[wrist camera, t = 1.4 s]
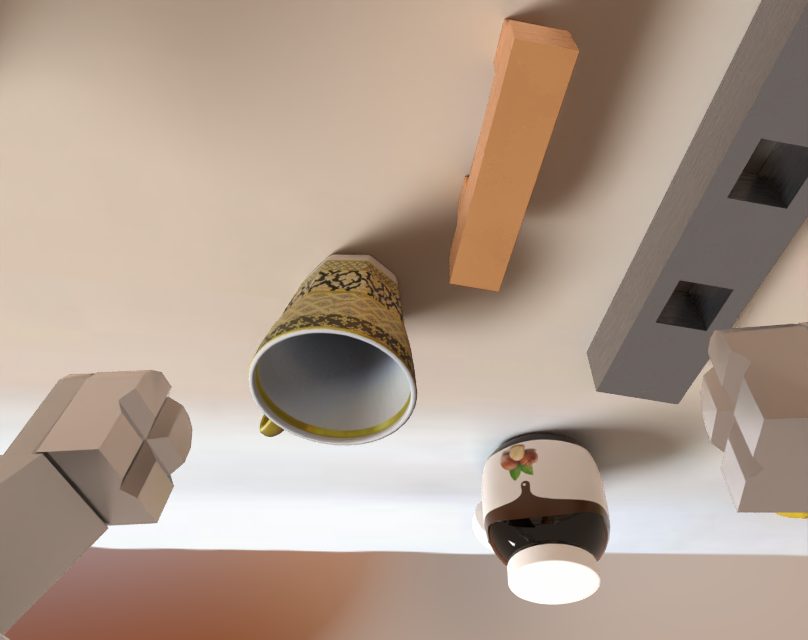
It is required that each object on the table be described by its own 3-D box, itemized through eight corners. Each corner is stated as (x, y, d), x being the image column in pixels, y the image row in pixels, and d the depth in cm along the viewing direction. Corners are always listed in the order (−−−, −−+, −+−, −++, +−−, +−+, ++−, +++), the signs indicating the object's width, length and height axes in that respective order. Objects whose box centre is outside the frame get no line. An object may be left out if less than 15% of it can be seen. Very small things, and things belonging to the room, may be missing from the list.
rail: (662, 364, 46) (677, 404, 43) (586, 352, 46) (596, 391, 43) (897, -11, 29) (949, 10, 26) (779, -35, 29) (818, -17, 26)
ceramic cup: (344, 202, 39) (318, 298, 31) (452, 291, 43) (452, 396, 35) (234, 310, 45) (189, 412, 37) (336, 379, 49) (315, 483, 42)
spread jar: (591, 422, 51) (620, 551, 42) (601, 498, 58) (628, 623, 49) (451, 440, 53) (451, 565, 45) (477, 511, 60) (482, 631, 51)
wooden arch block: (492, 226, 39) (498, 291, 34) (450, 218, 39) (449, 283, 34) (557, 9, 31) (579, 51, 25) (503, -2, 30) (514, 38, 25)
